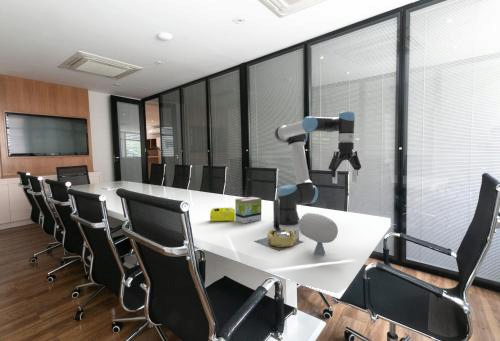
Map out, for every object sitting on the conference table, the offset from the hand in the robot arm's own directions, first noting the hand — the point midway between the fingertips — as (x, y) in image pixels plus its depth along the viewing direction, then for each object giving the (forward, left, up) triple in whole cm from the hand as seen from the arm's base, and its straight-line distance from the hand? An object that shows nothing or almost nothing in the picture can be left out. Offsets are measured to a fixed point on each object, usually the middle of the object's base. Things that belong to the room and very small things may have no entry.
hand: (344, 182), depth 134 cm
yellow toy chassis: (-69, -31, -29) cm, 81 cm away
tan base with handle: (-14, -34, -27) cm, 46 cm away
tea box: (-58, -18, -29) cm, 67 cm away
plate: (-14, -35, -28) cm, 47 cm away
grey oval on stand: (+5, -31, -28) cm, 43 cm away
